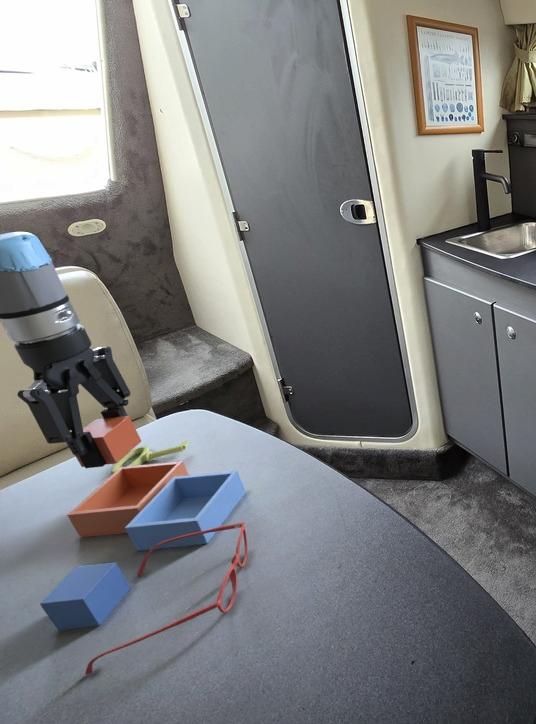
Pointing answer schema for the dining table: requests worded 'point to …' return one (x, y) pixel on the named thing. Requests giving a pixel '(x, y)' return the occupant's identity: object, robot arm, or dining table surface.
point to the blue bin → (186, 510)
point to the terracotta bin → (122, 498)
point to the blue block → (86, 596)
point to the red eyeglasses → (218, 603)
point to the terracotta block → (113, 437)
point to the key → (148, 455)
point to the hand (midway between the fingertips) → (111, 452)
